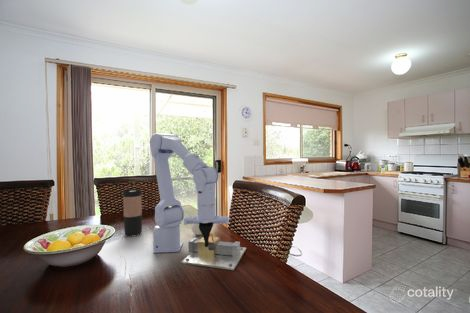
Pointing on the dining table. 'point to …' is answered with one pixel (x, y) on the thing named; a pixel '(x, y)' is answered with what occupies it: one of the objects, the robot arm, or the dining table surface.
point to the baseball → (196, 229)
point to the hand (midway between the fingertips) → (206, 245)
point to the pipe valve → (220, 247)
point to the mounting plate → (214, 260)
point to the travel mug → (132, 212)
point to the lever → (211, 242)
